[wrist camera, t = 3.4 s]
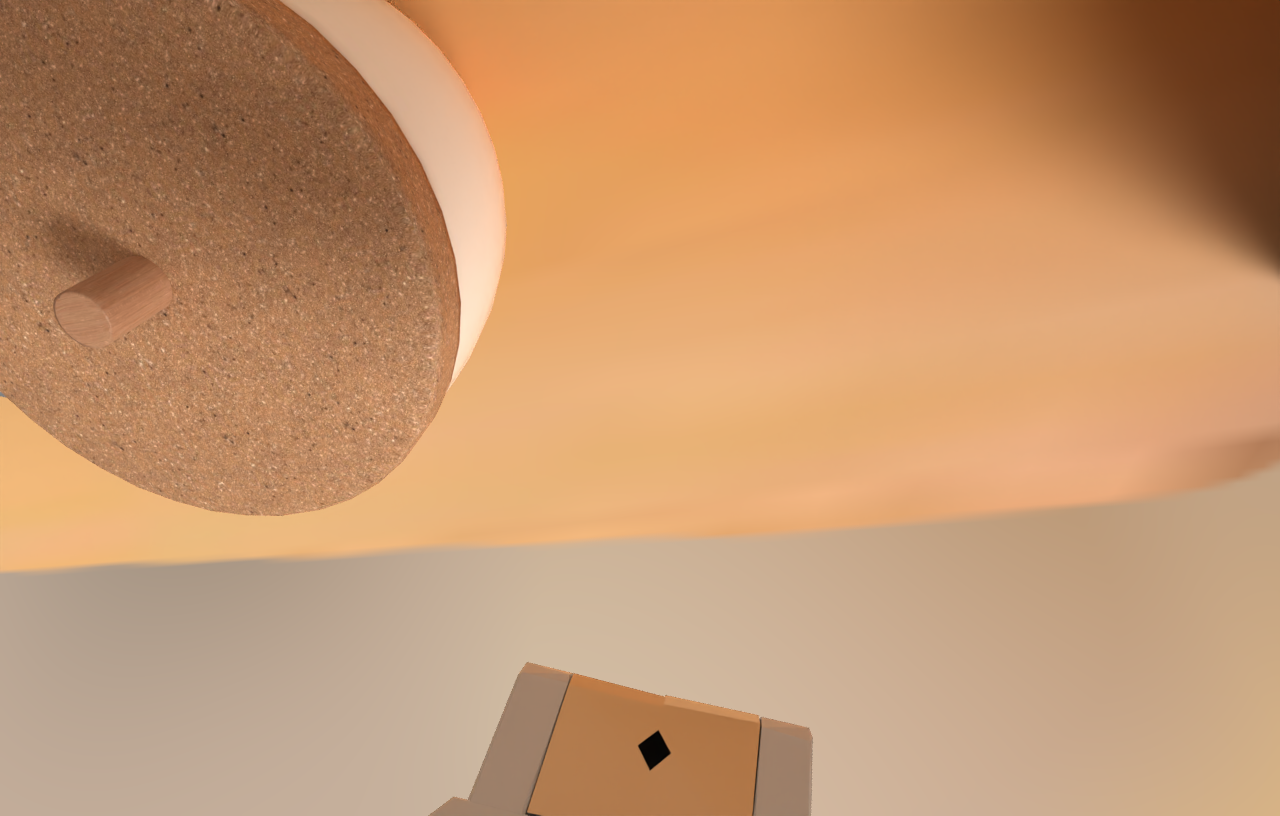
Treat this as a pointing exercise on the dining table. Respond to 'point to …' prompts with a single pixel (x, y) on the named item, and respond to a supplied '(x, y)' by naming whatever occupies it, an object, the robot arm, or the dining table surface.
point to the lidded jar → (239, 240)
